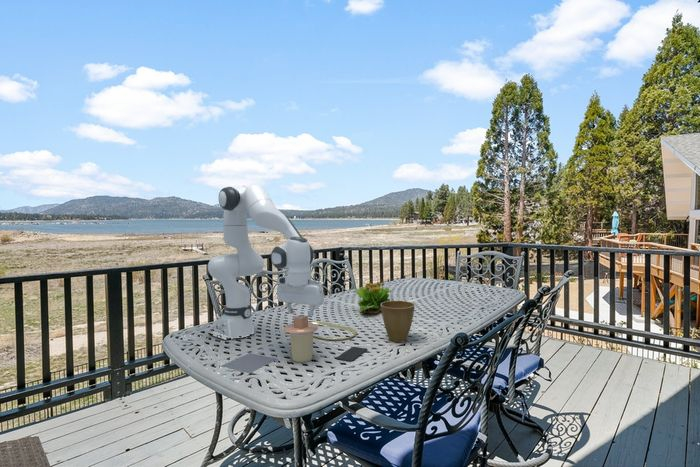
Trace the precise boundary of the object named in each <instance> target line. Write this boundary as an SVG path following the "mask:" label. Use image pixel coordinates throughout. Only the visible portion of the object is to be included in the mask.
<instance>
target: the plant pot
mask: <svg viewBox="0 0 700 467" xmlns="http://www.w3.org/2000/svg"><path fill="white" fill-rule="evenodd" d="M415 307H416V306H415V303H413V302H411V301H405V300H394V301H391V300H390V301H387V302H383V303H381V311H380V312H381V315H382V319H383V324H384V328H385V330H386V335H387V338H388V339H389V341H390V342H392V343H403V342H406V341H407V339H408V337H409V334H410V330H411V327H412V323H413V319H414V312H415Z"/></svg>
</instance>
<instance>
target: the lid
mask: <svg viewBox="0 0 700 467" xmlns="http://www.w3.org/2000/svg"><path fill="white" fill-rule="evenodd" d="M292 318H293V319H292V320H293V321H292V322H293V323H289V324H287V325H286V326H284V327H283V331H284V333H287V334H289V335H290V334H306V333H311V332H313V333H314V332H316V331H317V330H319V325H317V324H314V323H308V322H309V316H308V315H303V314H302V315H301V314H299V315H297V316H294V317H292Z"/></svg>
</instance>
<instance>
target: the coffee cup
mask: <svg viewBox="0 0 700 467" xmlns="http://www.w3.org/2000/svg"><path fill="white" fill-rule="evenodd" d="M313 335H314V332H311V333H306V334H289V339H290V340H289V341H290V349H291V357H292V361H293V362H296V363H306V362H310V361H312V360H313V356H314V355H313V354H314V337H313Z"/></svg>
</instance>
